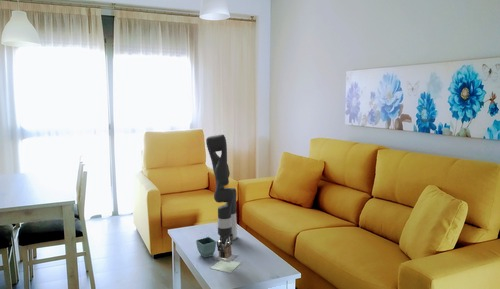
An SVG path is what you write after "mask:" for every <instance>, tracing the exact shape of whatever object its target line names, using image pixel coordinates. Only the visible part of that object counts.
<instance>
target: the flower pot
mask: <svg viewBox="0 0 500 289" xmlns="http://www.w3.org/2000/svg"><path fill="white" fill-rule="evenodd" d="M195 244H196V248H197V251H198V252H199V254H200V256H202V257H203V258H205V259H206V258H208V257H212V256H213V255H214V253H215V251H216V249H217V248H216V247H217V241H216V240H215V239H213V238H211V237H210V236H206V237H203V238H200V239H196V240H195Z"/></svg>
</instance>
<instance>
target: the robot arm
mask: <svg viewBox="0 0 500 289" xmlns="http://www.w3.org/2000/svg"><path fill="white" fill-rule="evenodd" d="M205 141H206V143H205V144H206V148H207V151H208V154H209V156H210V157H209V158H210V161H211V164H212V165H211V166H212V170H213V175H214V178H215V179H214V180H215V189H214V194H213V198H214V201H215V202H216V203H220V204H221V203H224V204H223V205H220V206H218V207H217V234H218V235H219V240H218V241H216V247H217V248H216V249H217V251H218V252H219V251H220V252H221V258H225V247H226V244H228V245H229V244H230V245H231V246H232V245H233V241H235V240H237V237H238V229H237V228H238V226H237V225H238V224H237V194H238V193H237V190H236V188H235V187H225V186H228V185H229V183H230V181H229V180H230V179H229V177H230V174H231V173H230V168H229V165H228V147H227V146H228V145H227V139H226V136H225V135H224V134H217V135H216V134H215V135H210V136H208V137H206V139H205ZM217 152H221V153H220V156H219V155H218V154H217ZM222 244H224V245H222Z"/></svg>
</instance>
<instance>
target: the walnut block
mask: <svg viewBox="0 0 500 289" xmlns="http://www.w3.org/2000/svg"><path fill="white" fill-rule="evenodd" d="M222 245H224V244H222ZM231 255H232V245H230V244H229V245H228V244H226V247H225V259H228V258H229V257H230V256H231ZM218 256H219V257H220V258H221V252H220V251H218Z"/></svg>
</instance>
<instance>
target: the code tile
mask: <svg viewBox="0 0 500 289" xmlns="http://www.w3.org/2000/svg"><path fill="white" fill-rule="evenodd" d="M237 257H238V255H237V254H232V255H231V256H230V257H229V258H228V259H225V258H220V257H219V255H217V256H216V257H215V258H214V259H213V260H215V261H217V262H219V261H220V260H222V259H224V260H227V261H226V262H230V261H234V260H235V259H236V258H237ZM228 260H229V261H228Z"/></svg>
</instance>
